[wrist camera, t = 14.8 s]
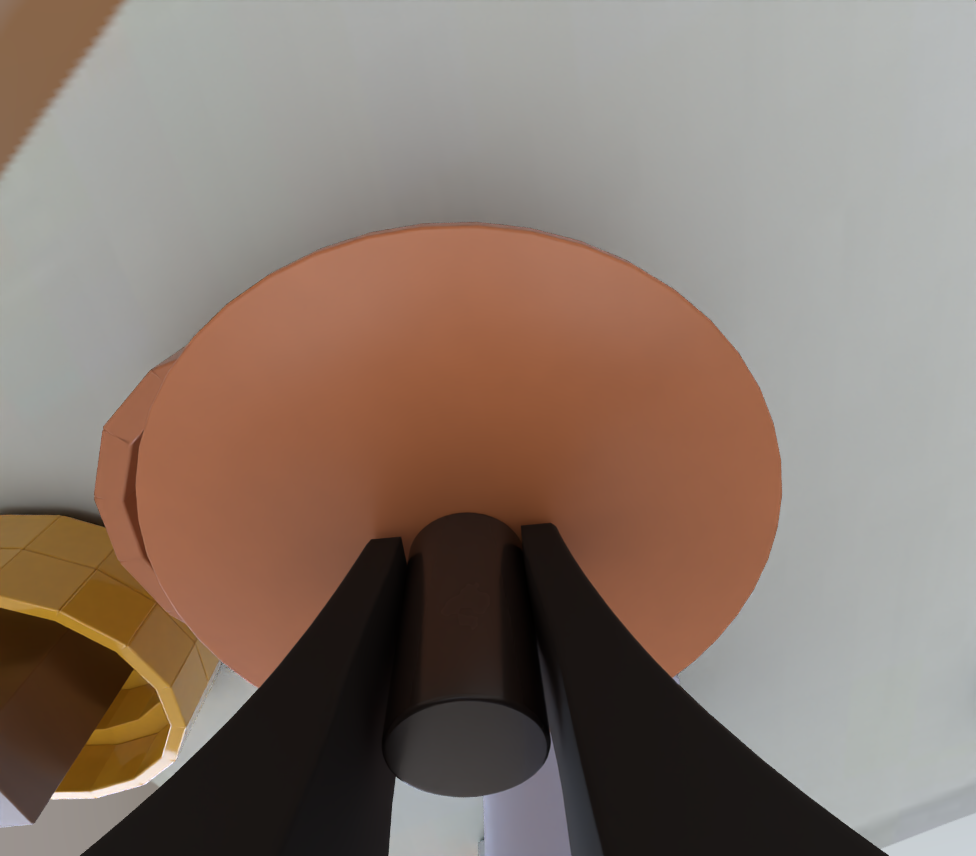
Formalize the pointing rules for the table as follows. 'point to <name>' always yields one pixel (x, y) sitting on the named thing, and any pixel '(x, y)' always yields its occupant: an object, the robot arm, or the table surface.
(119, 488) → the pot
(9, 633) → the walnut block
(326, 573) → the lid
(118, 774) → the bowl
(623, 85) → the table surface
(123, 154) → the table surface
